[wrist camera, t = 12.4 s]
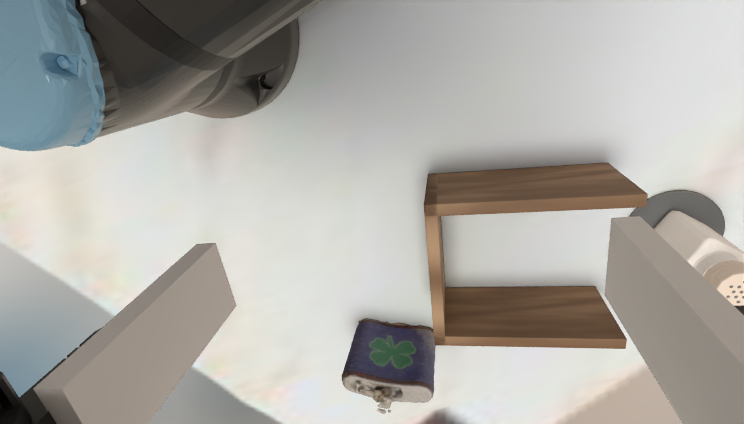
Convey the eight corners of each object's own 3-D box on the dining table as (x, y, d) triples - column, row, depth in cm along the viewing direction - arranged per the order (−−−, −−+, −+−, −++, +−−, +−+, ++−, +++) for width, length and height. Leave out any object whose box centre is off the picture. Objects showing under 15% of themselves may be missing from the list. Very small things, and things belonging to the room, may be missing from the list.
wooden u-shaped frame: (428, 174, 40) (424, 205, 32) (607, 162, 36) (647, 194, 29) (436, 295, 45) (434, 345, 38) (594, 294, 42) (625, 348, 34)
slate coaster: (628, 192, 37) (631, 195, 37) (729, 187, 36) (733, 190, 35) (618, 268, 40) (621, 271, 40) (711, 267, 39) (715, 270, 38)
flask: (437, 327, 47) (434, 403, 37) (434, 346, 48) (431, 426, 38) (357, 315, 48) (335, 387, 38) (357, 335, 49) (335, 409, 39)
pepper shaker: (708, 225, 37) (790, 284, 28) (676, 259, 38) (742, 323, 30) (670, 205, 36) (740, 258, 28) (639, 240, 38) (695, 299, 30)
